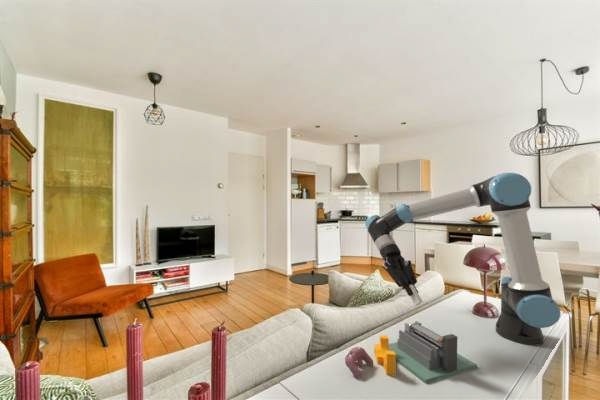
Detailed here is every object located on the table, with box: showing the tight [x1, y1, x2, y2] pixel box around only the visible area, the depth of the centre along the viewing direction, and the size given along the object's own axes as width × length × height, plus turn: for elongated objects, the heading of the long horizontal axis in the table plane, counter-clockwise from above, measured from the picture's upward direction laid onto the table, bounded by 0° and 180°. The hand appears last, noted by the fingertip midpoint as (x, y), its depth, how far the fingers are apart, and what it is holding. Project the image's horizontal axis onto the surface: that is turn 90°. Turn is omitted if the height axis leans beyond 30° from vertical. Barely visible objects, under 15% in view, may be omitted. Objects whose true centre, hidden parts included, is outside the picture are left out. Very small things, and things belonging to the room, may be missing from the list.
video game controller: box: [344, 346, 374, 379], centre depth 88 cm, size 10×5×7 cm, turn 141°
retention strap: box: [409, 322, 443, 347], centre depth 95 cm, size 3×14×2 cm, turn 22°
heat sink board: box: [389, 320, 478, 384], centre depth 95 cm, size 22×20×11 cm
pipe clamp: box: [373, 334, 397, 376], centre depth 91 cm, size 12×4×6 cm, turn 174°
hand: (418, 303), depth 98 cm, fingers closed
